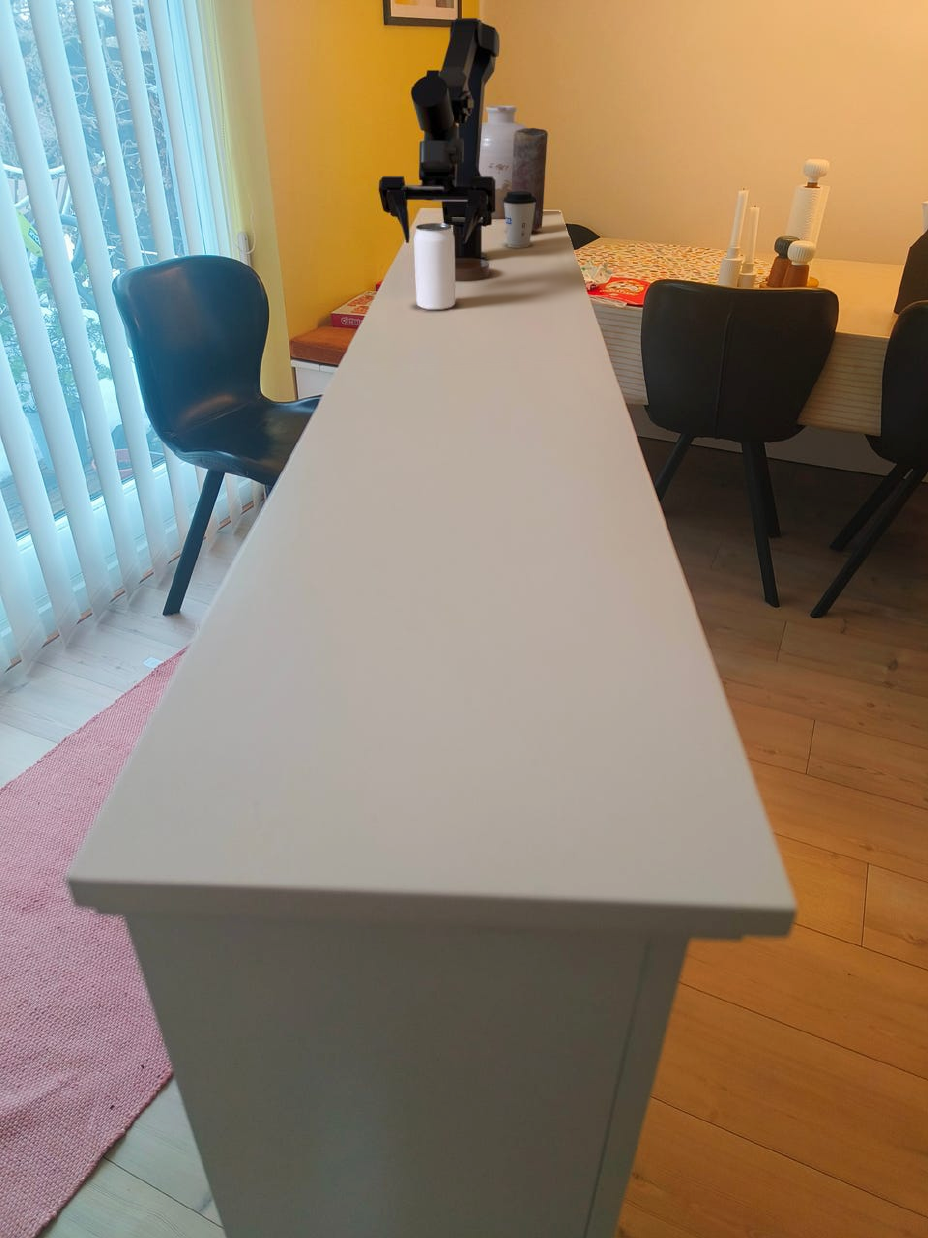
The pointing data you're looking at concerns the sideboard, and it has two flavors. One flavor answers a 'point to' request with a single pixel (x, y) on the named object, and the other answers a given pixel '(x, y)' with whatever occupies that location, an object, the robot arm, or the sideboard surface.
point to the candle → (530, 167)
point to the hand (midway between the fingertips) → (435, 241)
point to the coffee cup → (519, 217)
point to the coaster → (471, 269)
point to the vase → (499, 151)
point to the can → (434, 266)
